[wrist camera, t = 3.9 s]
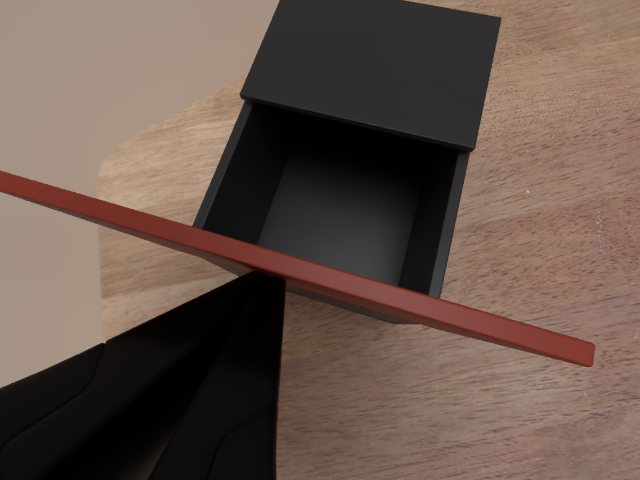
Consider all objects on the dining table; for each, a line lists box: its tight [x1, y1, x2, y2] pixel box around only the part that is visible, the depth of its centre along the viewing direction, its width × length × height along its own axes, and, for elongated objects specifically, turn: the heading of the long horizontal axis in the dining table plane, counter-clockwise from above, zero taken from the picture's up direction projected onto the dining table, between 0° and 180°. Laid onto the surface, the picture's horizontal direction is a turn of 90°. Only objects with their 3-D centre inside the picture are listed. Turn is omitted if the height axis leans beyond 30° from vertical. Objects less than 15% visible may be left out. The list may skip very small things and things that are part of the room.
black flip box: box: [192, 0, 501, 324], centre depth 18 cm, size 15×11×9 cm
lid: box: [0, 171, 595, 367], centre depth 9 cm, size 7×11×1 cm
